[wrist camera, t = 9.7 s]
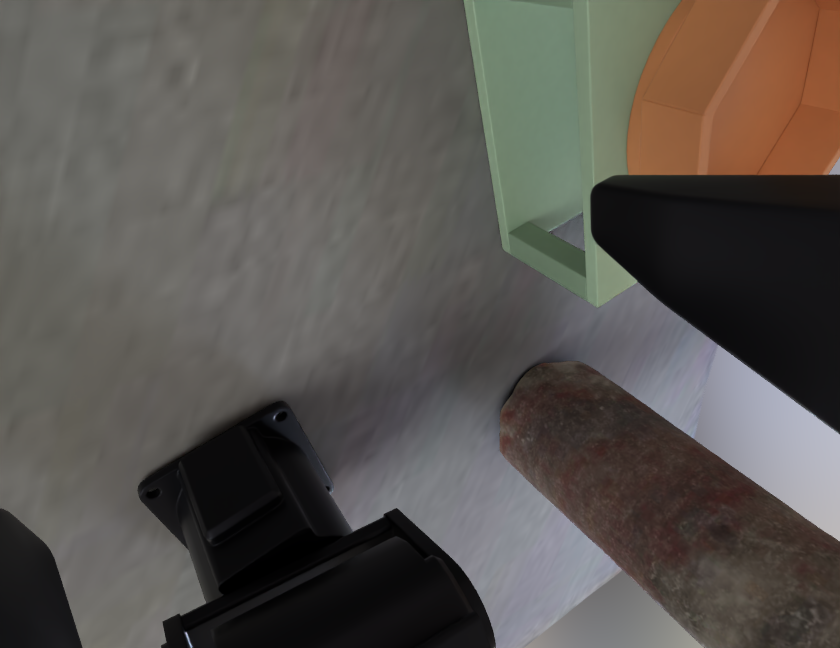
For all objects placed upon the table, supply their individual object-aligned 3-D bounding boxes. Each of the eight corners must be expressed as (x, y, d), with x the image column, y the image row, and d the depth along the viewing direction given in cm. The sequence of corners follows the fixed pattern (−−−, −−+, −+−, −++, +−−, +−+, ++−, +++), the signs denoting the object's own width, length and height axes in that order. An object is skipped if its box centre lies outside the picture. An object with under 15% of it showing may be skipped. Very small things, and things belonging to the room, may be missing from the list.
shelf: (684, 144, 31) (796, 178, 26) (502, 249, 27) (597, 308, 23) (705, -143, 23) (869, -160, 19) (455, -45, 20) (586, -38, 15)
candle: (605, 351, 36) (1005, 621, 22) (560, 447, 39) (890, 743, 25) (518, 353, 32) (951, 695, 18) (473, 462, 34) (817, 835, 20)
